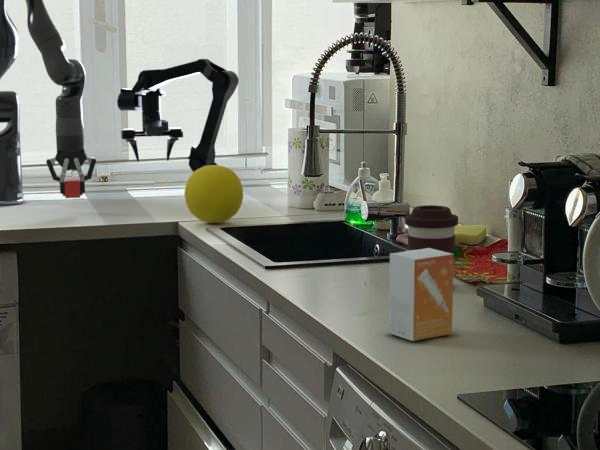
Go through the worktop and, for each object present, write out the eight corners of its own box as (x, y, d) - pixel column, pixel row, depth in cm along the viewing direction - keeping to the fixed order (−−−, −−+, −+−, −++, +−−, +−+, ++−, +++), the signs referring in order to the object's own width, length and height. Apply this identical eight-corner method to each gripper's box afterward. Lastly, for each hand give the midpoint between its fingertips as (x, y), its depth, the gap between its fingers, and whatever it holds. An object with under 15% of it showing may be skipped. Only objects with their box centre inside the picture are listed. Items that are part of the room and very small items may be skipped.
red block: (65, 198, 286) (64, 181, 285) (65, 195, 290) (64, 179, 289) (80, 197, 287) (79, 180, 286) (80, 195, 291) (79, 178, 290)
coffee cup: (400, 280, 202) (400, 204, 200) (450, 279, 203) (451, 203, 201) (409, 292, 193) (410, 212, 190) (462, 291, 193) (463, 211, 191)
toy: (233, 216, 283) (232, 161, 280) (250, 224, 269) (249, 166, 266) (179, 219, 278) (177, 163, 275) (194, 228, 264) (192, 169, 261)
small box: (413, 342, 160) (414, 259, 158) (387, 333, 165) (388, 252, 163) (453, 334, 164) (454, 253, 162) (427, 325, 170) (428, 246, 168)
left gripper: (43, 135, 280) (46, 198, 283) (97, 133, 283) (99, 196, 286) (43, 132, 288) (46, 194, 290) (96, 131, 291) (98, 192, 294)
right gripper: (122, 113, 313) (124, 164, 316) (184, 111, 318) (186, 162, 320) (119, 111, 324) (121, 161, 326) (179, 109, 328) (181, 159, 331)
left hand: (72, 195), depth 288 cm, fingers closed on red block, 4 cm apart
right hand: (152, 161), depth 326 cm, fingers open, 9 cm apart
